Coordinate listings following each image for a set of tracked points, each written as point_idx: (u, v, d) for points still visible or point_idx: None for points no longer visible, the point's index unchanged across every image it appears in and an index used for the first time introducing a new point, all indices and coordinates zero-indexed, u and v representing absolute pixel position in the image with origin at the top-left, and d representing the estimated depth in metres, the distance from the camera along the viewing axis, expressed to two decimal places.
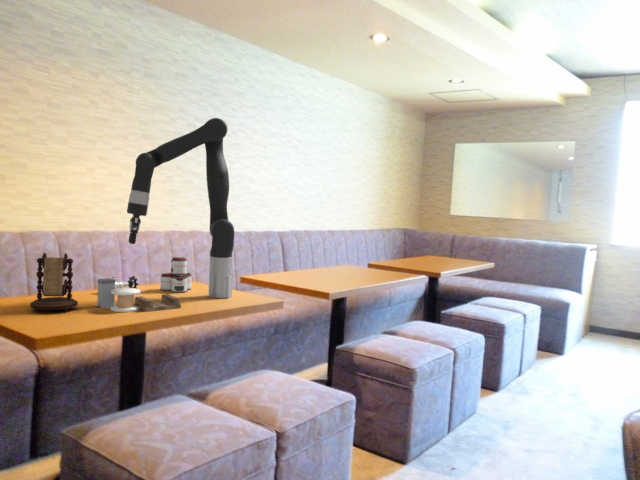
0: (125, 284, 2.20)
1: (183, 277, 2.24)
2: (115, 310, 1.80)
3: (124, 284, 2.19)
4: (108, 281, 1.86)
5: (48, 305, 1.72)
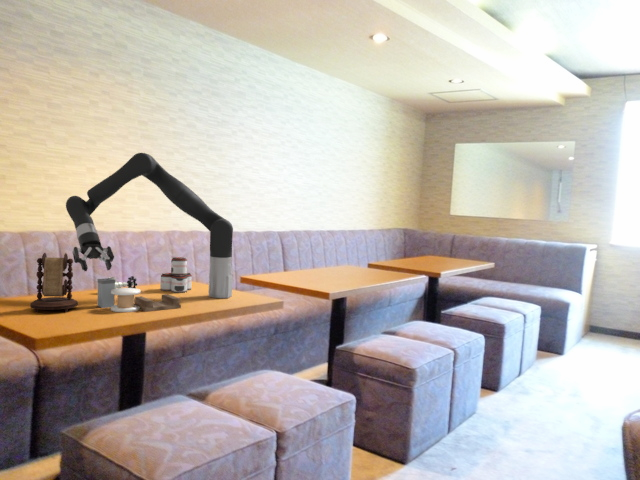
0: (124, 284, 2.19)
1: (183, 277, 2.24)
2: (115, 310, 1.80)
3: (123, 284, 2.19)
4: (108, 281, 1.86)
5: (48, 305, 1.72)
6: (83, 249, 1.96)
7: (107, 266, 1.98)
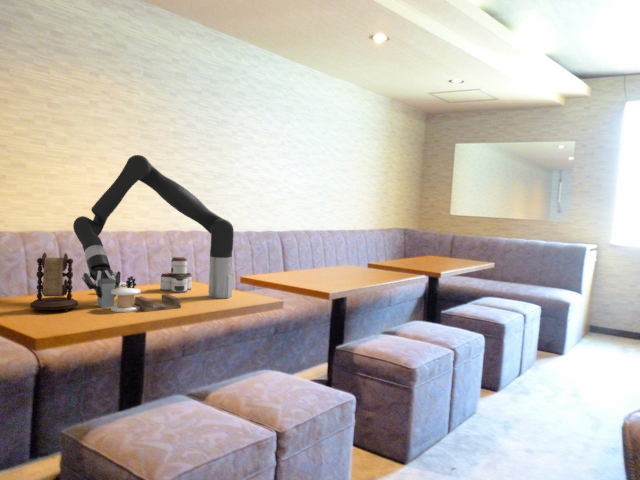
0: (123, 284, 2.19)
1: (183, 277, 2.24)
2: (115, 310, 1.80)
3: (122, 284, 2.19)
4: (108, 281, 1.86)
5: (48, 305, 1.72)
6: (93, 273, 1.89)
7: None
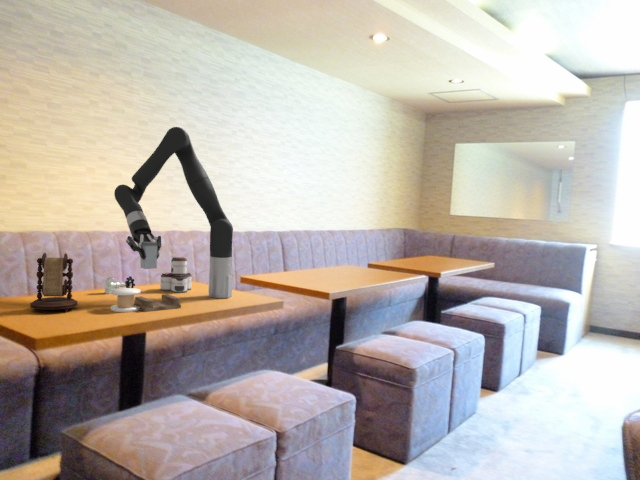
0: (122, 284, 2.18)
1: (183, 277, 2.24)
2: (115, 310, 1.80)
3: (121, 284, 2.18)
4: (151, 243, 1.95)
5: (48, 305, 1.72)
6: (136, 236, 1.98)
7: None
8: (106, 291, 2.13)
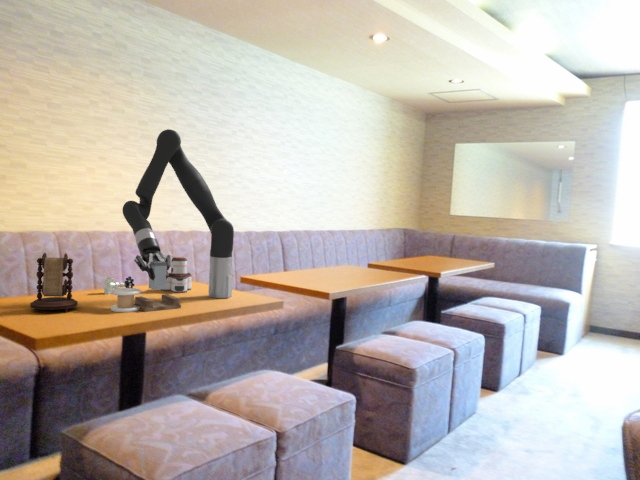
0: (121, 284, 2.18)
1: (183, 277, 2.24)
2: (115, 310, 1.80)
3: (120, 284, 2.18)
4: (160, 263, 1.88)
5: (48, 305, 1.72)
6: (144, 255, 1.91)
7: None
8: (105, 291, 2.13)
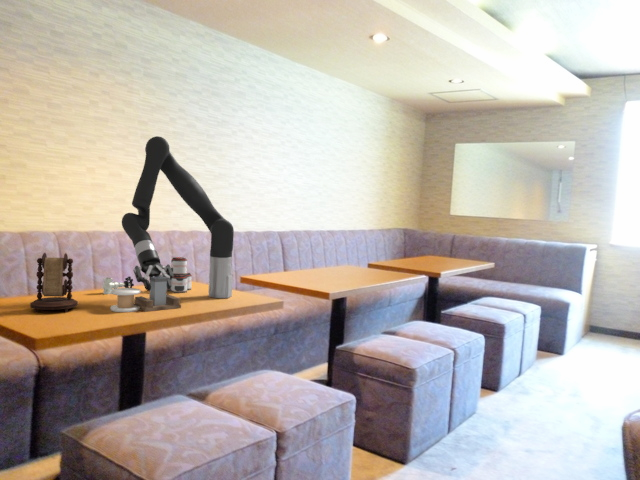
0: (121, 285, 2.18)
1: (183, 277, 2.24)
2: (115, 310, 1.80)
3: (120, 285, 2.17)
4: (160, 279, 1.89)
5: (48, 305, 1.72)
6: (144, 267, 1.91)
7: (167, 285, 1.93)
8: (104, 291, 2.13)
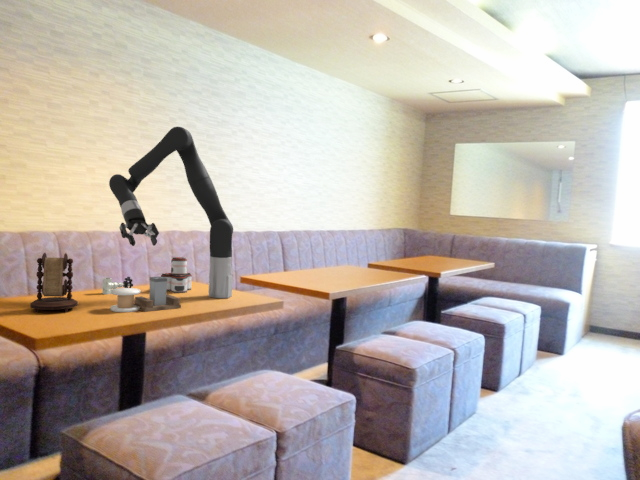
0: (120, 285, 2.17)
1: (183, 277, 2.24)
2: (115, 310, 1.80)
3: (119, 285, 2.17)
4: (160, 279, 1.89)
5: (48, 305, 1.72)
6: (130, 225, 2.01)
7: (153, 241, 2.03)
8: (104, 291, 2.12)
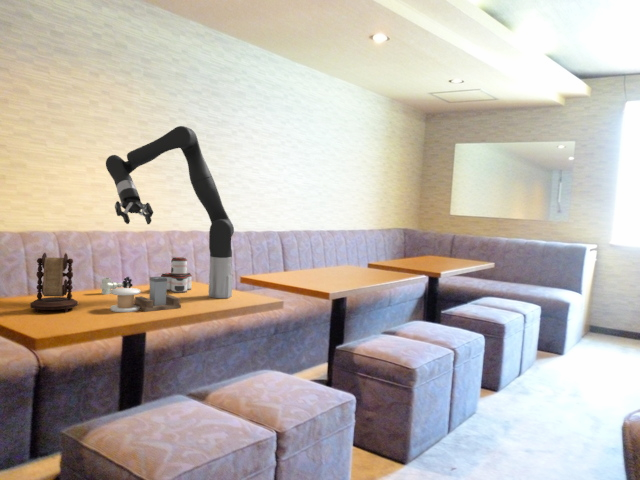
0: (119, 285, 2.17)
1: (183, 277, 2.24)
2: (115, 310, 1.80)
3: (118, 285, 2.17)
4: (160, 279, 1.89)
5: (48, 305, 1.72)
6: (124, 203, 2.05)
7: (147, 220, 2.07)
8: (103, 291, 2.12)
